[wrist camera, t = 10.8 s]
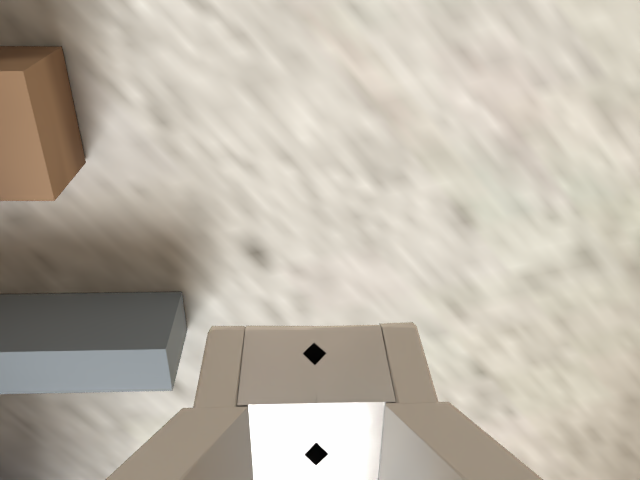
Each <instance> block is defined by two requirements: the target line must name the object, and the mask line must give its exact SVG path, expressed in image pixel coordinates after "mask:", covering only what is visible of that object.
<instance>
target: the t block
mask: <svg viewBox="0 0 640 480" xmlns="http://www.w3.org/2000/svg"><path fill="white" fill-rule="evenodd" d="M85 163H86V161H85V156H84V152H83V147H82V142H81V137H80V132H79V127H78V123H77V118H76V113H75V108H74V103H73V98H72V93H71V89H70V84H69V79H68V74H67V69H66V64H65V60H64V55H63V50H62V47H46V46H0V201H55V200H56V198H57V197H58V196H59V195H60V194H61V192H62V191H63V190H64V189H65V187H66V186H67V185H68V184H69V183H70V181H71V180H72V179H73V178H74V176H75V175H76V174H77V173H78V172H79V170H80V169H81V168H82V167H83V165H84V164H85Z"/></svg>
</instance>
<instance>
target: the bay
mask: <svg viewBox="0 0 640 480" xmlns="http://www.w3.org/2000/svg"><path fill="white" fill-rule="evenodd" d="M186 333H187V326H186V319H185V311H184V304H183V296H182V292H133V293H64V294H0V394H33V393H82V392H131V391H172V390H173V386H174V382H175V378H176V374H177V370H178V366H179V362H180V358H181V353H182V349H183V345H184V341H185V337H186Z"/></svg>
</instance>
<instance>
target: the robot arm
mask: <svg viewBox="0 0 640 480" xmlns="http://www.w3.org/2000/svg"><path fill="white" fill-rule="evenodd" d="M106 480H543V479H542V478H541V477H539V476H538V475H537V474H536V473H534V472H533V471H532V470H531V469H530V468H528V467H527V466H526V465H525V464H524V463H522V462H521V461H520V460H519V459H517V458H516V457H515V456H514V455H513V454H511V453H510V452H509V451H508V450H507V449H505V448H504V447H503V446H502V445H501V444H499V443H498V442H497V441H496V440H494V439H493V438H492V437H491V436H490V435H488V434H487V433H486V432H485V431H484V430H482V429H481V428H480V427H479V426H477V425H476V424H475V423H474V422H473V421H471V420H470V419H469V418H468V417H467V416H465V415H464V414H463V413H462V412H460V411H459V410H458V409H457V408H456V407H454V406H453V405H452V404H451V403H450V402H438V399H437V395H436V392H435V388H434V385H433V381H432V378H431V375H430V371H429V368H428V364H427V361H426V357H425V354H424V350H423V347H422V343H421V340H420V337H419V333H418V330H417V326H416V325H415V324H414V323H413V322H409V323H385V324H379V325H347V326H246V327H245V326H212V327H211V328H210V330H209V332H208V335H207V340H206V345H205V350H204V355H203V360H202V366H201V371H200V376H199V381H198V386H197V391H196V396H195V401H194V406H193V408H182V409H181V410H180V411H179V412H178V413H177V414H176V415H175V416H174V417H172V418H171V419H170V420H169V421H168V422H167V423H166V424H165V425H164V426H163V427H162V428H161V429H160V430H159V431H157V432H156V433H155V434H154V435H153V436H152V437H151V438H150V439H149V440H148V441H147V442H146V443H145V444H143V445H142V446H141V447H140V448H139V449H138V450H137V451H136V452H135V453H134V454H133V455H132V456H131V457H129V458H128V459H127V460H126V461H125V462H124V463H123V464H122V465H121V466H120V467H119V468H118V469H117V470H115V471H114V472H113V473H112V474H111V475H110V476H109V477H108V478H107V479H106Z"/></svg>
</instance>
